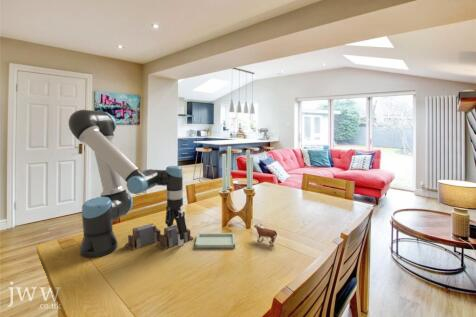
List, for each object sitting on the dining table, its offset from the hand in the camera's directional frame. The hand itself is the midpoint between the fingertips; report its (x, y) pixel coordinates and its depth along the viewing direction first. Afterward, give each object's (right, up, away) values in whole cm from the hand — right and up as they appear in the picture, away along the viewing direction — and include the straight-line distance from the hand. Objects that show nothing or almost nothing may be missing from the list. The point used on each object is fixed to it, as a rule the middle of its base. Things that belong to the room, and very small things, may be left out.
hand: (175, 241), depth 124 cm
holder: (-15, 0, -1) cm, 15 cm away
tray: (+20, 0, +1) cm, 20 cm away
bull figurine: (+44, -1, +2) cm, 44 cm away
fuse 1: (-15, 0, -1) cm, 15 cm away
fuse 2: (0, 0, 0) cm, 0 cm away
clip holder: (0, 0, 0) cm, 0 cm away
